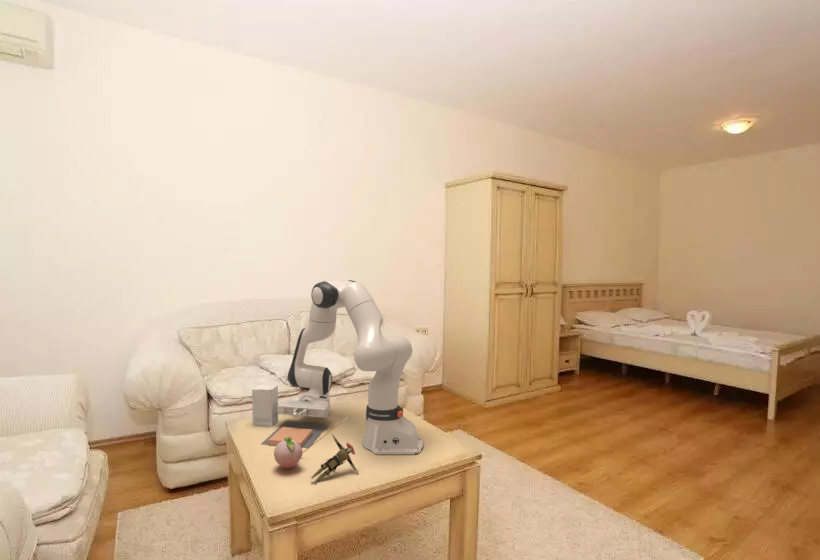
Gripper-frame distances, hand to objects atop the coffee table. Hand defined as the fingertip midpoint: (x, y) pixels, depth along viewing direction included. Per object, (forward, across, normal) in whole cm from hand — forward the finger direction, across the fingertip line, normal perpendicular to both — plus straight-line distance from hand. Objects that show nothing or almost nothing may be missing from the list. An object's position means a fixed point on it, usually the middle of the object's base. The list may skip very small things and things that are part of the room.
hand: (296, 416), depth 159 cm
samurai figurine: (+26, +21, +8) cm, 34 cm away
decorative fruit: (+24, +7, +8) cm, 27 cm away
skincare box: (-8, -16, +8) cm, 19 cm away
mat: (-1, 0, +8) cm, 8 cm away
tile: (-1, 0, +6) cm, 6 cm away
